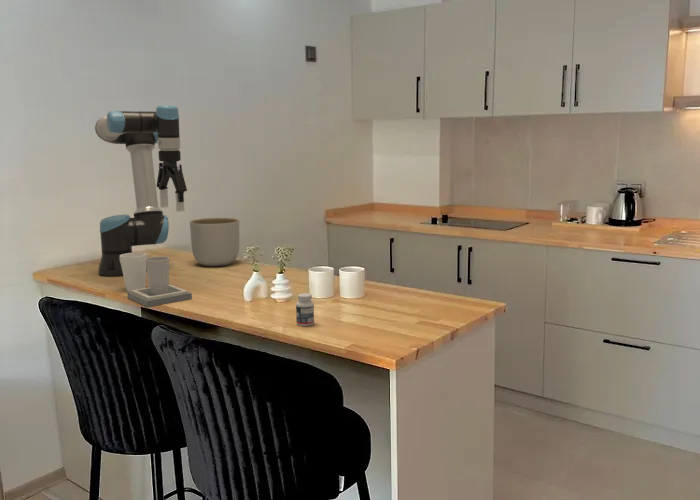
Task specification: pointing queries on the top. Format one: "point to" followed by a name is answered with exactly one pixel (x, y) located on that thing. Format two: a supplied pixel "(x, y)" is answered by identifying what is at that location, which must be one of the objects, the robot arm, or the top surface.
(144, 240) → the robot arm
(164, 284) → the cup
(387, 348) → the top surface
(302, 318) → the pill bottle
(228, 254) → the planter
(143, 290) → the grey square tray
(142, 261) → the foam cup
